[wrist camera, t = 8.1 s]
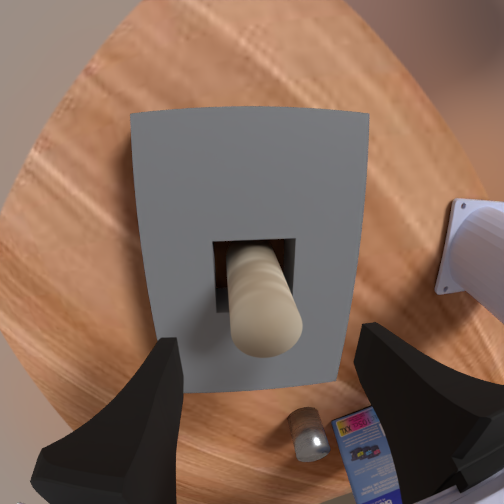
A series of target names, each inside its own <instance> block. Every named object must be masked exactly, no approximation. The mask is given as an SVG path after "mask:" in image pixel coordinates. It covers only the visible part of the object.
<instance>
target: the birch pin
mask: <svg viewBox="0 0 504 504" xmlns="http://www.w3.org/2000/svg"><path fill="white" fill-rule="evenodd" d="M226 265H227V282H228V298H229V313H230V327H231V337H232V340H233V343H234V344H235V346H236V347H237V348H238V349H239V350H240V351H241V352H243V353H245V354H247V355H249V356H252V357H257V358H269V357H274V356H278V355H280V354H283V353H284V352H286V351H288V350H289V349H290V348H292V347H293V346H294V345H295V344H296V342H297V341H298V340H299V338H300V336H301V333H302V327H303V325H302V319H301V316H300V314H299V312H298V309H297V307H296V304H295V302H294V299H293V297H292V294H291V292H290V289H289V287H288V284H287V282H286V280H285V277H284V275H283V272H282V270H281V267H280V265H279V263H278V260H277V258H276V255H275V253H274V251H273V248H272V246H271V244H270V242H269V241H268V240H267V239H260V240H234V241H231V243H230V244H229V246H228V248H227V251H226Z"/></svg>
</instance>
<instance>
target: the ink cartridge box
mask: <svg viewBox="0 0 504 504" xmlns="http://www.w3.org/2000/svg"><path fill="white" fill-rule="evenodd" d="M331 424H332V427H333V430H334V433H335V437H336V440H337V443H338V447H339V450H340V453H341V457H342V460H343V463H344V466H345V469H346V472H347V476H348V479H349V482H350V485H351V488H352V492H353V495H354V498H355V501H356V504H402V500H401V494H400V488H399V483H398V478H397V474H396V470H395V466H394V462H393V458H392V455H391V451H390V448H389V445H388V442H387V439H386V436H385V433H384V430H383V428H382V426H381V423H380V421H379V419H378V417H377V415H376V413H375V411H374V409H373V407H372V406H371V407H368V408H366V409H363V410H361V411H358V412H356V413H353V414H350V415H347V416H344V417H342V418H339V419H336V420H333V421H332V422H331Z"/></svg>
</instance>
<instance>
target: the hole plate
mask: <svg viewBox="0 0 504 504" xmlns="http://www.w3.org/2000/svg"><path fill="white" fill-rule="evenodd" d="M130 121H131V144H132V160H133V174H134V186H135V197H136V207H137V216H138V225H139V233H140V241H141V248H142V256H143V262H144V269H145V276H146V282H147V288H148V294H149V299H150V305H151V310H152V316H153V321H154V326H155V331H156V336H157V341H158V340H159V339H160V338H161V337H177V342H178V347H179V353H180V359H181V364H182V369H183V375H184V390H183V393H213V392H235V391H251V390H264V389H275V388H285V387H294V386H303V385H311V384H318V383H325V382H332V381H336V378H337V374H338V369H339V365H340V360H341V356H342V351H343V346H344V341H345V336H346V331H347V325H348V320H349V314H350V308H351V303H352V297H353V290H354V284H355V277H356V270H357V263H358V256H359V248H360V240H361V231H362V222H363V212H364V202H365V190H366V177H367V162H368V142H369V114H368V113H360V112H351V111H340V110H329V109H315V108H297V107H264V106H237V107H204V108H186V109H172V110H160V111H150V112H141V113H132V114H130ZM260 239H284V263H283V275H284V277H285V280H286V282H287V284H288V287H289V289H290V292H291V294H292V297H293V299H294V302H295V304H296V307H297V309H298V312H299V314H300V316H301V319H302V325H303V327H302V333H301V336H300V338H299V340H298V341H297V342H296V344H295V345H294V346H293V347H292V348H290V349H289V350H288V351H286V352H284V353H283V354H280V355H278V356H274V357H269V358H257V357H252V356H249V355H247V354H245V353H243V352H241V351H240V350H239V349H238V348H237V347H236V346H235V344H234V343H233V340H232V337H231V327H230V313H229V298H228V287H227V288H216V273H215V255H214V241H234V240H260Z"/></svg>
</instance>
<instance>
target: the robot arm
mask: <svg viewBox="0 0 504 504" xmlns="http://www.w3.org/2000/svg"><path fill="white" fill-rule="evenodd" d="M462 204H463V206H462V207H461V205H462ZM461 291H466V292H468V293H469V294H470V295H471V296H472V297H474V298H475V299H476V300H477V301H478V302H479V303H480V304H482V305H483V306H484V307H485V308H486V309H487V310H488V311H490V312H491V313H492V314H493V315H494V316H495V317H496V318H497V319H498V320H500V321H501V322H502V323H503V324H504V202H499V201H488V200H476V199H462V198H456V199H454V201H453V202H452V207H451V214H450V220H449V225H448V231H447V236H446V241H445V246H444V251H443V256H442V260H441V265H440V269H439V273H438V277H437V281H436V285H435V292H436V293H437V294H438V295H441V294H448V293H454V292H461ZM354 365H355V368H356V371H357V374H358V377H359V380H360V383H361V385H362V387H363V389H364V391H365V393H366V395H367V397H368V399H369V401H370V403H371V405H372V407H373V409H374V411H375V413H376V415H377V417H378V419H379V421H380V423H381V426H382V428H383V430H384V433H385V436H386V439H387V442H388V445H389V448H390V451H391V455H392V458H393V462H394V466H395V470H396V474H397V478H398V483H399V488H400V494H401V500H402V504H504V385H500V384H495V383H491V382H487V381H484V380H480V379H477V378H474V377H471V376H469V375H466V374H463V373H461V372H458V371H456V370H454V369H452V368H449V367H447V366H445V365H443V364H441V363H439V362H437V361H436V360H434V359H432V358H430V357H429V356H427V355H425V354H424V353H422V352H420V351H419V350H417V349H416V348H414V347H412V346H411V345H409V344H408V343H406V342H405V341H403V340H402V339H401V338H399V337H398V336H396V335H395V334H393V333H392V332H390V331H389V330H387V329H386V328H384V327H383V326H381V325H380V324H378V323H376V322H373V323H365V324H362V328H361V332H360V337H359V341H358V346H357V350H356V354H355V358H354ZM183 390H184V375H183V369H182V364H181V359H180V353H179V347H178V342H177V337H161V338H160V339H159V340H158V342H157V343H156V345H155V346H154V348H153V349H152V351H151V352H150V354H149V355H148V357H147V358H146V360H145V361H144V363H143V364H142V365H141V367H140V368H139V369H138V371H137V372H136V373H135V375H134V376H133V377H132V378H131V380H130V381H129V382H128V383H127V384H126V386H125V387H124V388H123V389H122V390H121V391H120V392H119V394H118V395H117V396H116V397H115V398H114V399H113V400H112V401H111V402H110V403H109V404H108V405H107V406H106V407H105V408H103V409H102V410H101V411H100V412H99V413H98V414H96V415H95V416H94V417H93V418H92V419H90V420H89V421H88V422H87V423H85V424H84V425H82V426H81V427H79V428H78V429H77V430H75V431H73V432H72V433H70V434H69V435H67V436H65V437H64V438H62V439H60V440H58V441H56V442H54V443H52V444H51V445H49V446H47V447H45V448H42V450H41V452H40V454H39V456H38V459H37V462H36V465H35V468H34V471H33V474H32V477H31V481H30V482H31V485H32V486H33V488H34V489H35V490H36V492H38V493H39V494H40V495H41V496H42V497H43V498H44V499H45V500H46V501H47V502H49V503H50V504H177V502H176V448H177V439H178V432H179V425H180V418H181V411H182V404H183ZM17 504H24V503H21V502H17Z"/></svg>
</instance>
